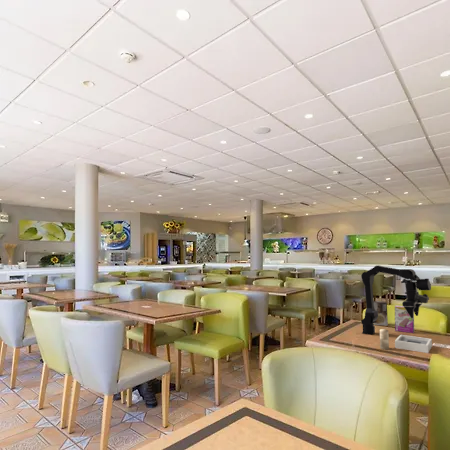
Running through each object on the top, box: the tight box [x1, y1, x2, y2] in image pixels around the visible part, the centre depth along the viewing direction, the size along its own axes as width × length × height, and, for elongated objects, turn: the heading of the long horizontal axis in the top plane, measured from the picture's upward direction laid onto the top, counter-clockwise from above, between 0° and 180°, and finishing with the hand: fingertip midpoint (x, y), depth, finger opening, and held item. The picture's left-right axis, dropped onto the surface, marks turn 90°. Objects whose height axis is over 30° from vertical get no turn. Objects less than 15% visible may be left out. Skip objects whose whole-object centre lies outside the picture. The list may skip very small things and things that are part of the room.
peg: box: [379, 328, 390, 351], centre depth 193 cm, size 4×4×10 cm
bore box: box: [394, 334, 433, 354], centre depth 195 cm, size 16×16×4 cm
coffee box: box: [373, 300, 389, 327], centre depth 252 cm, size 9×6×16 cm
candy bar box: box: [394, 305, 415, 334], centre depth 230 cm, size 11×5×16 cm, turn 58°
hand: (414, 316), depth 207 cm, fingers open, 9 cm apart
